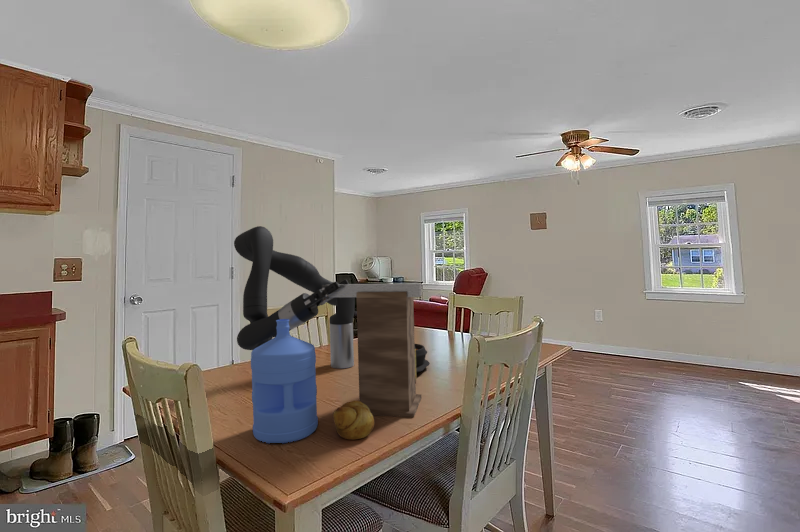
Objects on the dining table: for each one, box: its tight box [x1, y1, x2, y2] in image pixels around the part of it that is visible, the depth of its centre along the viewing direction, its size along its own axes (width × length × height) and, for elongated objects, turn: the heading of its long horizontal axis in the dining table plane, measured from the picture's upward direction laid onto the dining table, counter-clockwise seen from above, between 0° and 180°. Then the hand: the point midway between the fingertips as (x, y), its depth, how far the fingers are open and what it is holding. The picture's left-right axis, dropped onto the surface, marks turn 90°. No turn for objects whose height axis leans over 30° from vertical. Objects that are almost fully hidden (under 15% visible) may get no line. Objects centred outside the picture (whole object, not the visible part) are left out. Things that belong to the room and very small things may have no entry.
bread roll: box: [332, 400, 375, 441], centre depth 99 cm, size 13×10×8 cm
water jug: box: [250, 319, 319, 444], centre depth 100 cm, size 16×16×28 cm
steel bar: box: [322, 282, 422, 298], centre depth 113 cm, size 4×28×4 cm, turn 79°
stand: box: [356, 292, 422, 418], centre depth 116 cm, size 15×17×34 cm
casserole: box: [414, 343, 430, 373], centre depth 154 cm, size 25×19×8 cm
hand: (343, 283), depth 115 cm, fingers open, 8 cm apart
